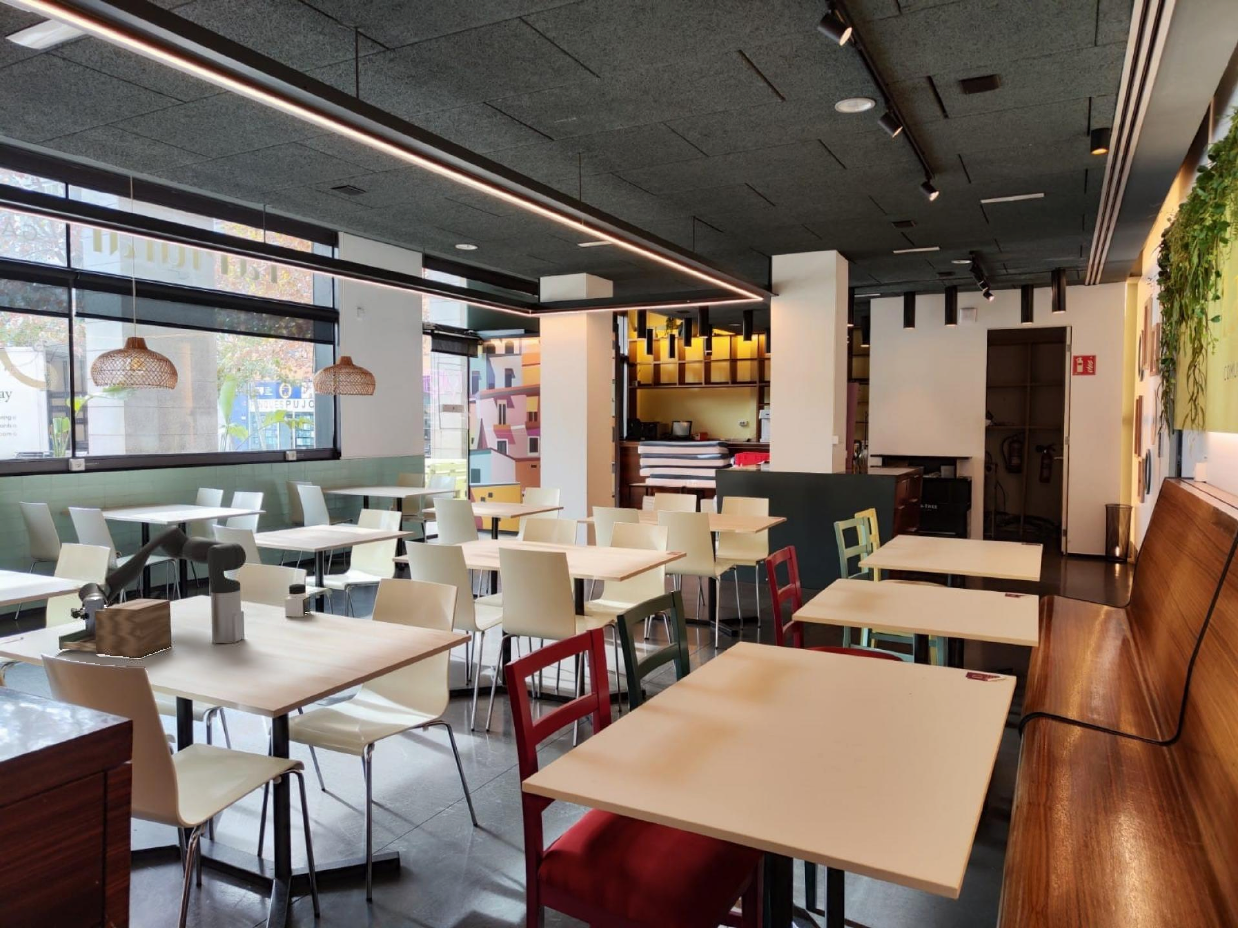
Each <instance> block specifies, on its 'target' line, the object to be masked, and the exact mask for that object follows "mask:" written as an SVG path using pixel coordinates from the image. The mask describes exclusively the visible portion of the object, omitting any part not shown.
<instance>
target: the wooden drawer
mask: <svg viewBox="0 0 1238 928" xmlns="http://www.w3.org/2000/svg"><path fill="white" fill-rule="evenodd" d="M59 649H60V650H62V649H70V650H74V651H84V652H85V651H88V652H96V637H86V628H83V629H81V630H77V631H74V632H70V633H66V634H64V635H63V634H62V635H60V636H58V650H59Z"/></svg>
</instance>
